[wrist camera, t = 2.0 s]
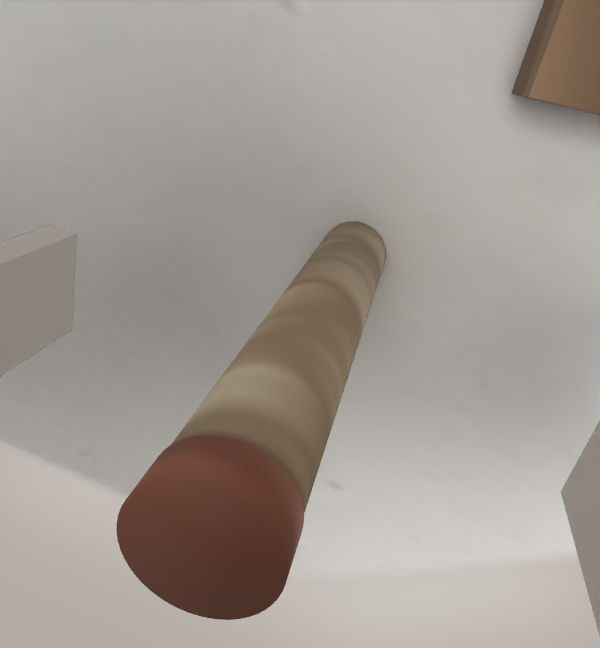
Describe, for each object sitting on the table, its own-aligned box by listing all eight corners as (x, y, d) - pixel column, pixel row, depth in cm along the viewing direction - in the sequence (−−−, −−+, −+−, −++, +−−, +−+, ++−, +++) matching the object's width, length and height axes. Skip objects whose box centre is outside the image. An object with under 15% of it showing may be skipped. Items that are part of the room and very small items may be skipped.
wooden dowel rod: (313, 274, 22) (110, 583, 9) (329, 212, 21) (124, 453, 7) (376, 292, 22) (268, 642, 8) (395, 230, 21) (306, 516, 7)
